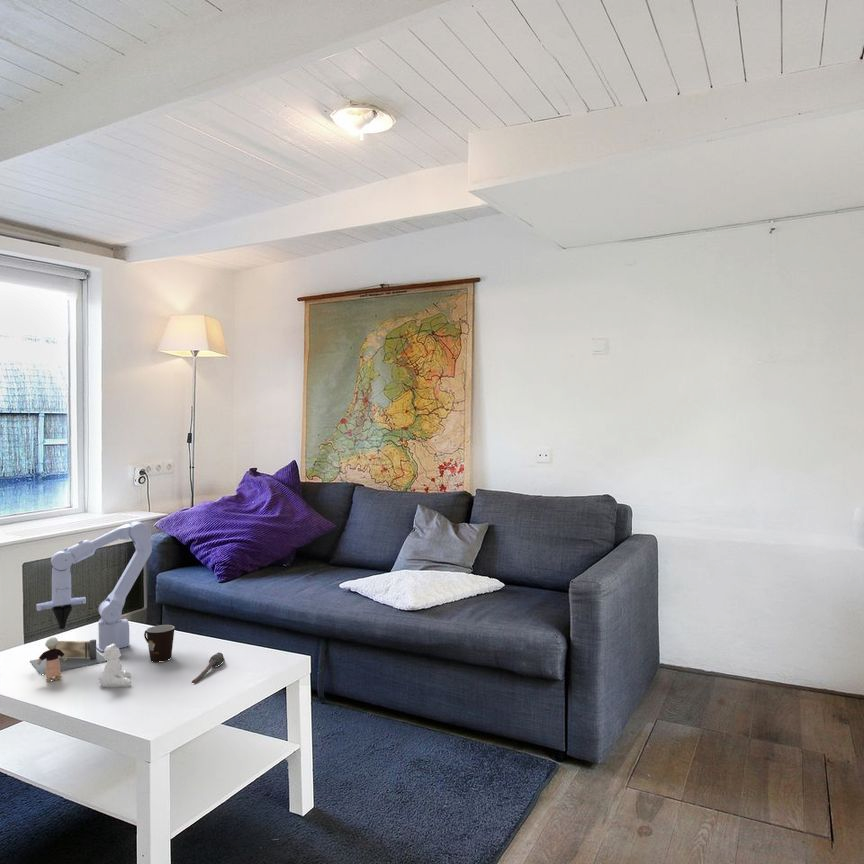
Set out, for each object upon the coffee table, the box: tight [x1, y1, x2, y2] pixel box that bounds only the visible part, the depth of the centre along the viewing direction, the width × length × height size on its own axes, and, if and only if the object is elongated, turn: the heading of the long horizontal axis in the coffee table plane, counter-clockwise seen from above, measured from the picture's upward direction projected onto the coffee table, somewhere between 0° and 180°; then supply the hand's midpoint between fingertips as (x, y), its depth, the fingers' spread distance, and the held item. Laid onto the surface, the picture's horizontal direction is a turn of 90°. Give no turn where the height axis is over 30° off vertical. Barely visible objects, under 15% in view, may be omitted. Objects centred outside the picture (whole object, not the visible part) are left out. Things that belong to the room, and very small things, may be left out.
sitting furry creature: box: [98, 644, 132, 689], centre depth 201 cm, size 10×9×12 cm
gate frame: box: [29, 639, 108, 676], centre depth 221 cm, size 19×17×7 cm
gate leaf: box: [55, 640, 90, 658], centre depth 224 cm, size 12×1×5 cm, turn 86°
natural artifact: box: [191, 651, 225, 684], centre depth 212 cm, size 4×23×4 cm, turn 168°
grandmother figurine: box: [37, 636, 67, 682], centre depth 205 cm, size 8×4×13 cm, turn 135°
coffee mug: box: [143, 624, 175, 663], centre depth 224 cm, size 12×9×10 cm
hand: (61, 628), depth 228 cm, fingers closed
